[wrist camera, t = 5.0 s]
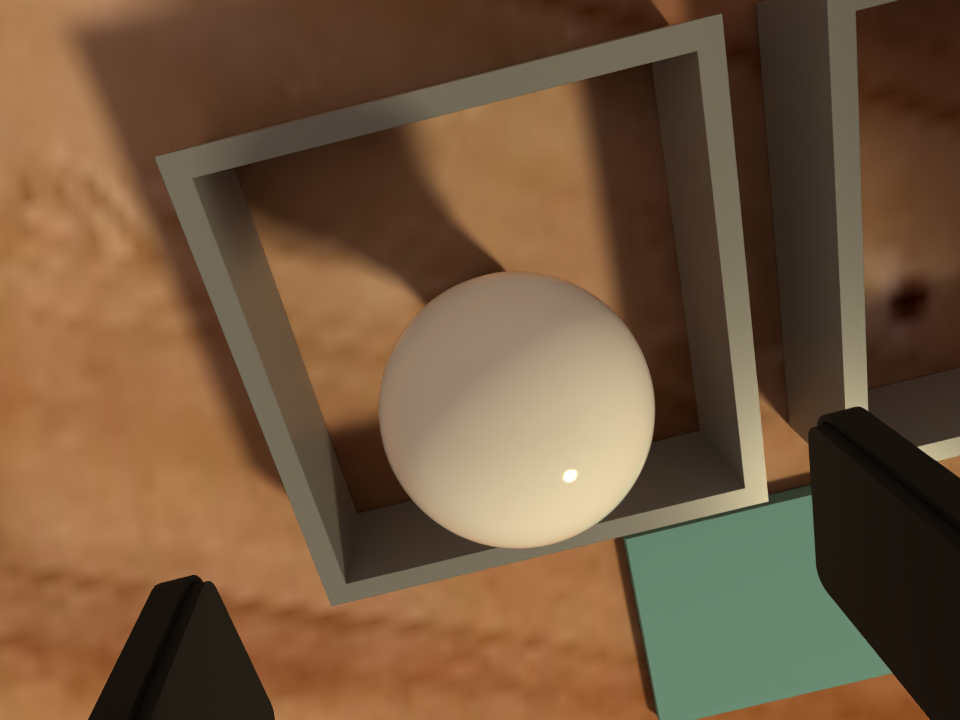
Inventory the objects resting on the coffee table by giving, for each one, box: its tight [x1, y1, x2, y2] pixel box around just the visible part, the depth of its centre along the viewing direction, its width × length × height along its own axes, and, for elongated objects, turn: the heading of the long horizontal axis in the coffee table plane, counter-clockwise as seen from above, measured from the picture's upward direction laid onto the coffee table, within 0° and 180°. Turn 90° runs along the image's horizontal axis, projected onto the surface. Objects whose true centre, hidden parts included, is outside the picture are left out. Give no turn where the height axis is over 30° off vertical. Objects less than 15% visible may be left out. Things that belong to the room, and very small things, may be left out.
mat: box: [623, 485, 892, 720], centre depth 29 cm, size 12×10×1 cm
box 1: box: [154, 14, 769, 606], centre depth 22 cm, size 14×14×4 cm
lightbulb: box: [378, 271, 655, 549], centre depth 19 cm, size 6×6×11 cm
